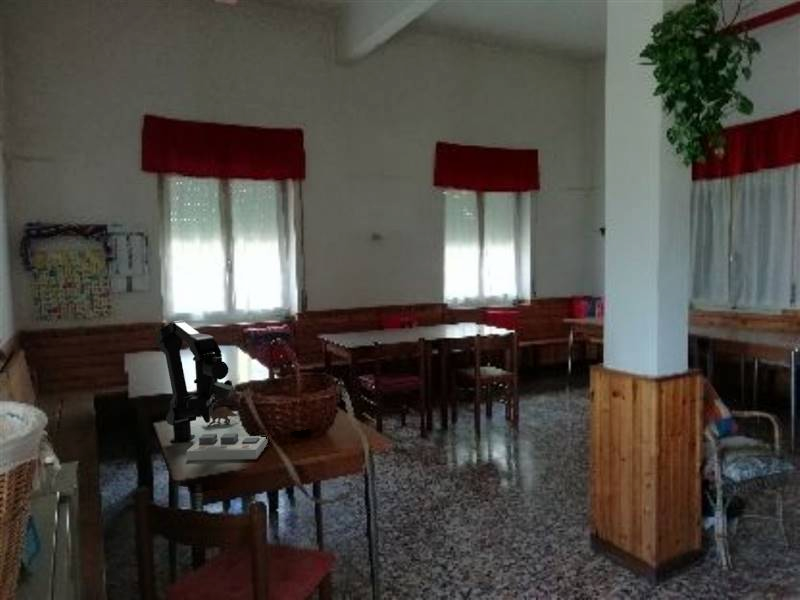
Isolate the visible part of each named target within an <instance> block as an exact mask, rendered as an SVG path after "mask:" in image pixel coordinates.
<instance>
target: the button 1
mask: <svg viewBox="0 0 800 600" xmlns="http://www.w3.org/2000/svg"><path fill="white" fill-rule="evenodd" d="M217 437H218V433H203V434H202V435H201V436H200V437H198V441H199V445H213V444H214V443H216V442H217Z"/></svg>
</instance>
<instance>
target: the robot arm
mask: <svg viewBox="0 0 800 600" xmlns="http://www.w3.org/2000/svg"><path fill="white" fill-rule="evenodd" d="M155 341H156V343H157V345H158V348H159V350H160V351H161V352H162V353H163V354H164V355H165V359H166V365H167V370H168V374H169V375H168V377H169V381H170V386H171V391H172V396H171V397H172V398H171V400H170V402H169V411H168V412H167V414H166V418H165V420H166V423H167V424H168V425H170V426H172V429H173V430H172V431H173V438H171V439H170V440H169V442H170V443H173V442H172V441H181V442H180V443H182V442H184V443H185V442H190V441H191V440H192V439H194V438H195V436H196V435H195V434H192V429H191V428H192V427H191V422H193V421H194V422H195V421H197V415H198V412H199V414H200V415H201V417H202V418H203V421H204V422H205V423H206V424H210V423H211V419H212V418H211V414H212V410H213V408H214V407H213V405H214V404H215V403H217V402H218V401H219V398H215V395H216V396H219V397H221V398H223V399H229V398H230V397H231V396H232V393H233V391H234V385H233V382H232V380H230V379H227V380H225V381H224V382H223V381H222V382H220V381H218V380H223V379H225V378H226V377H227V375H228V374H229V366H228V364H227V363H226V362H225V361H223V358H222V357H223V354H222V351H221V348H220V347H219V345H218V342H217V340H216V339H215V337H214V336H212V335H210V334H207V333H206V334H205V333H201V332H199V331H198V330H196V329H194V328H193V327H192V326H190V325H189V324H188V323H187V321H186V320H183V319H181V320H172V321H170V322H169V323H168V324H167V325H165V326H163V327H161V328H160V329H159V330H158V331H157V333H156V334H155ZM184 342H185V343H186V344H188V345H189V351H190V352H191V354H192V356H194V357H193V358H192V360H193V362H194V364H195V365H194V366H195V379H194V380H193V384H196V387H195V388H196V391H194V395H191V394H190V393H189V392H188V387H187V383H186V378H185V372H184V366H183V362H182V361H183V360H182V356H181V351H182V350H181V349H182V347H183V345H184Z"/></svg>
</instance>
